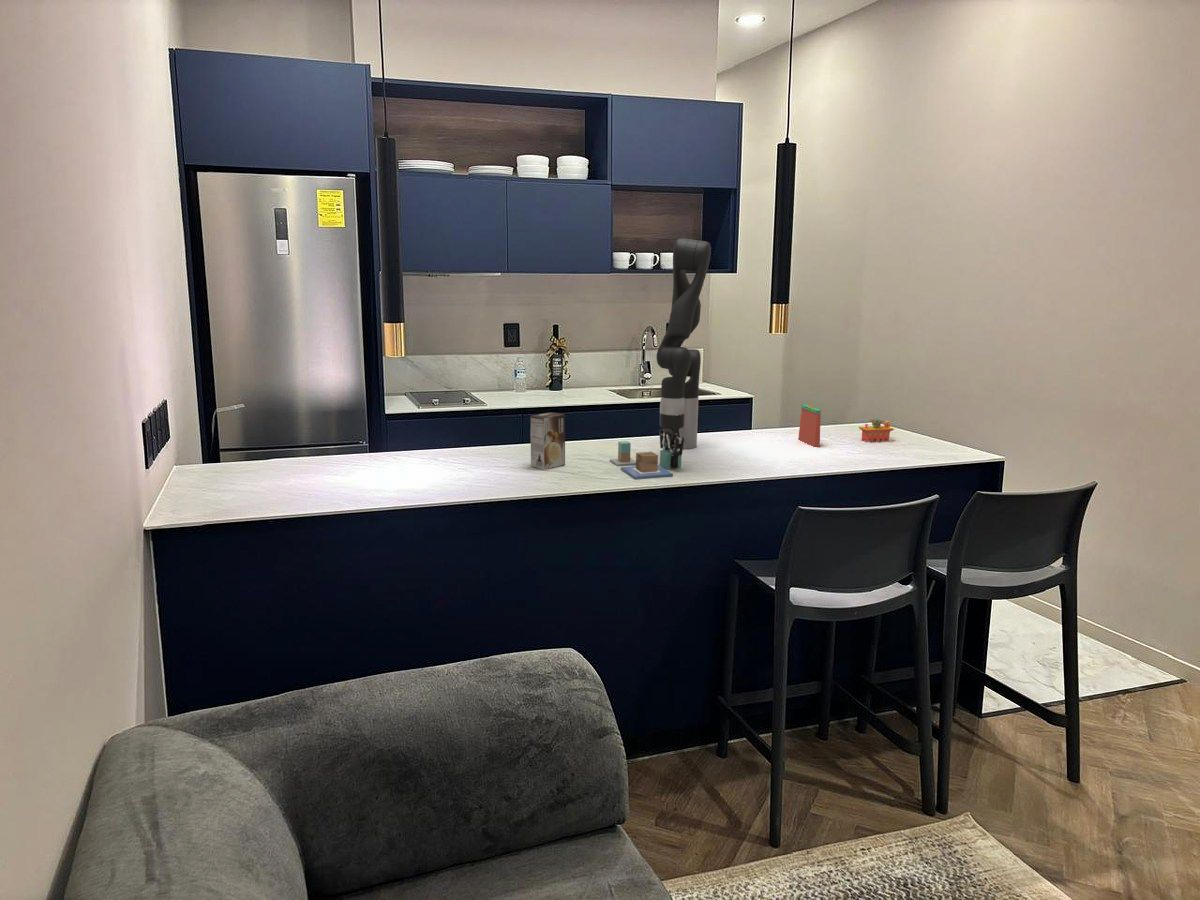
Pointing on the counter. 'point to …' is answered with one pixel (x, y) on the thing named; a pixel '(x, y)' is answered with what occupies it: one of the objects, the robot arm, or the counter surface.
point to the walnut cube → (646, 462)
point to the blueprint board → (646, 473)
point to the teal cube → (668, 459)
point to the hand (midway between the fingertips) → (670, 465)
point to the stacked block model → (623, 455)
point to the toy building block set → (811, 428)
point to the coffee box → (547, 440)
